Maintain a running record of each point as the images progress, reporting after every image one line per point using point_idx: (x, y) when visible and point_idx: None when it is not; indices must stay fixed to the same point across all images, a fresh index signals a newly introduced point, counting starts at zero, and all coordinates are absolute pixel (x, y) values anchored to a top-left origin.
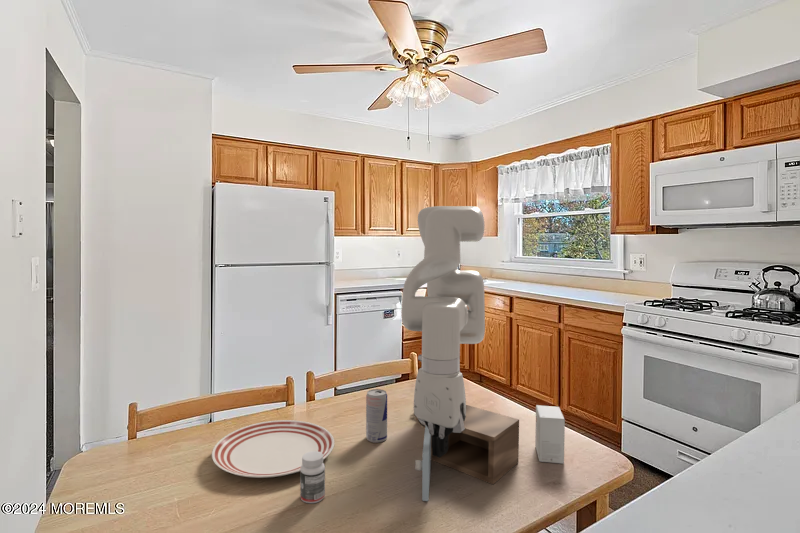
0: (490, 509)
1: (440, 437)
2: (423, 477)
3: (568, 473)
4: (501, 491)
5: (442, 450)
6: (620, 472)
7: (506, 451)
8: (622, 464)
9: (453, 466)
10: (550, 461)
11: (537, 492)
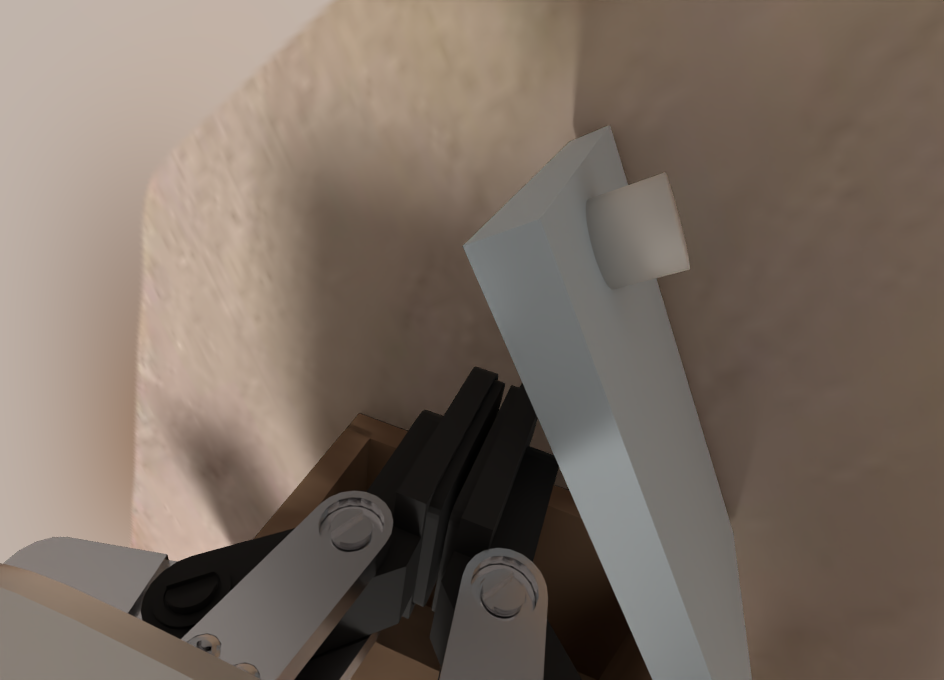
0: (286, 234)
1: (377, 510)
2: (578, 158)
3: (211, 525)
4: (313, 377)
5: (432, 420)
6: (131, 547)
7: None
8: None
9: (558, 496)
10: None
11: (221, 407)
